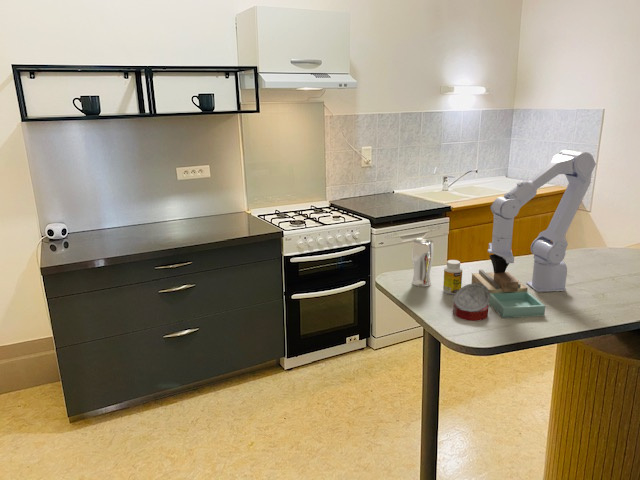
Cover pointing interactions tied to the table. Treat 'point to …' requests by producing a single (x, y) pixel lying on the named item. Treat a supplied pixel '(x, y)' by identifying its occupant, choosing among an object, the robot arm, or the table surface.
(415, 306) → the table surface
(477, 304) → the canned food
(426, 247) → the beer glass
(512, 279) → the block
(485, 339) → the table surface
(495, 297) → the tray
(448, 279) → the supplement bottle
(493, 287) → the slot deck
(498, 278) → the brown block
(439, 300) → the table surface
